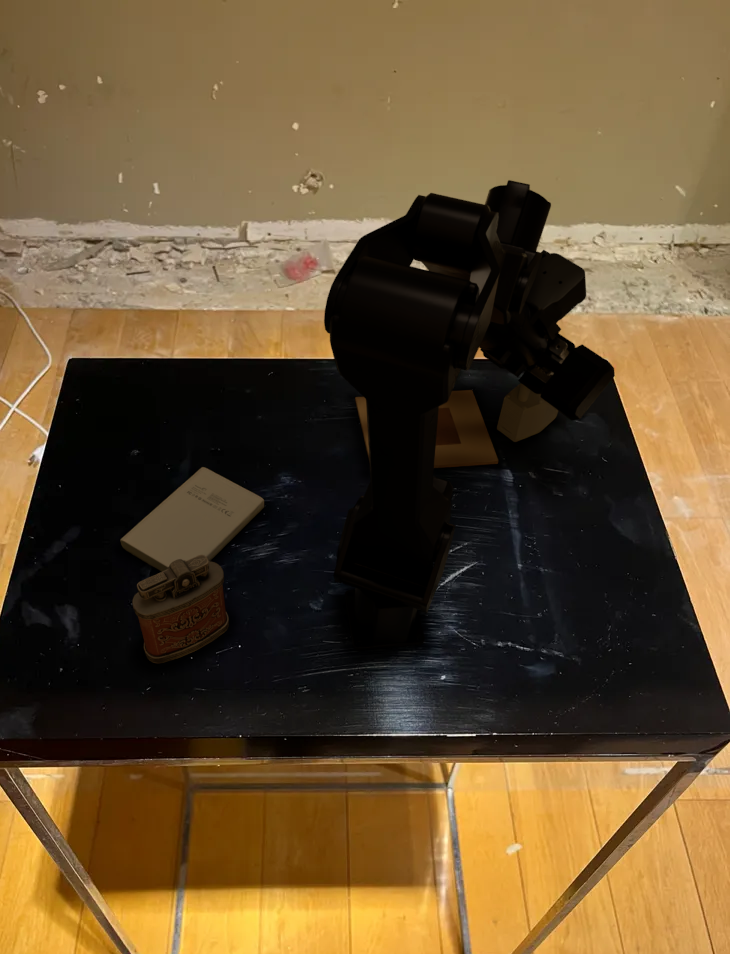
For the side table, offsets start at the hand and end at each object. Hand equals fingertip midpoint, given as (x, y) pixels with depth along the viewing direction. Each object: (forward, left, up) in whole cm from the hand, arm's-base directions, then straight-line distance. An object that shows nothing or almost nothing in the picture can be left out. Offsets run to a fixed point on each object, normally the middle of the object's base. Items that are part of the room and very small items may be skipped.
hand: (549, 371), depth 90 cm
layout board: (-1, +13, -7) cm, 15 cm away
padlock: (-1, +1, -7) cm, 7 cm away
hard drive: (-13, +39, -7) cm, 42 cm away
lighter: (-26, +40, -7) cm, 48 cm away
